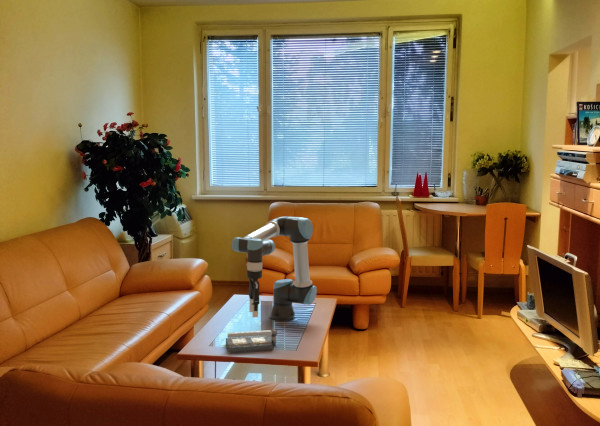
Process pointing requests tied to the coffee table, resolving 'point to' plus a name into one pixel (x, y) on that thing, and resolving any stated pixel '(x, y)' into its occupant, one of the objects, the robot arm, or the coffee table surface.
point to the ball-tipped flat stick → (253, 333)
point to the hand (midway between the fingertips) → (253, 314)
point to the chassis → (250, 344)
